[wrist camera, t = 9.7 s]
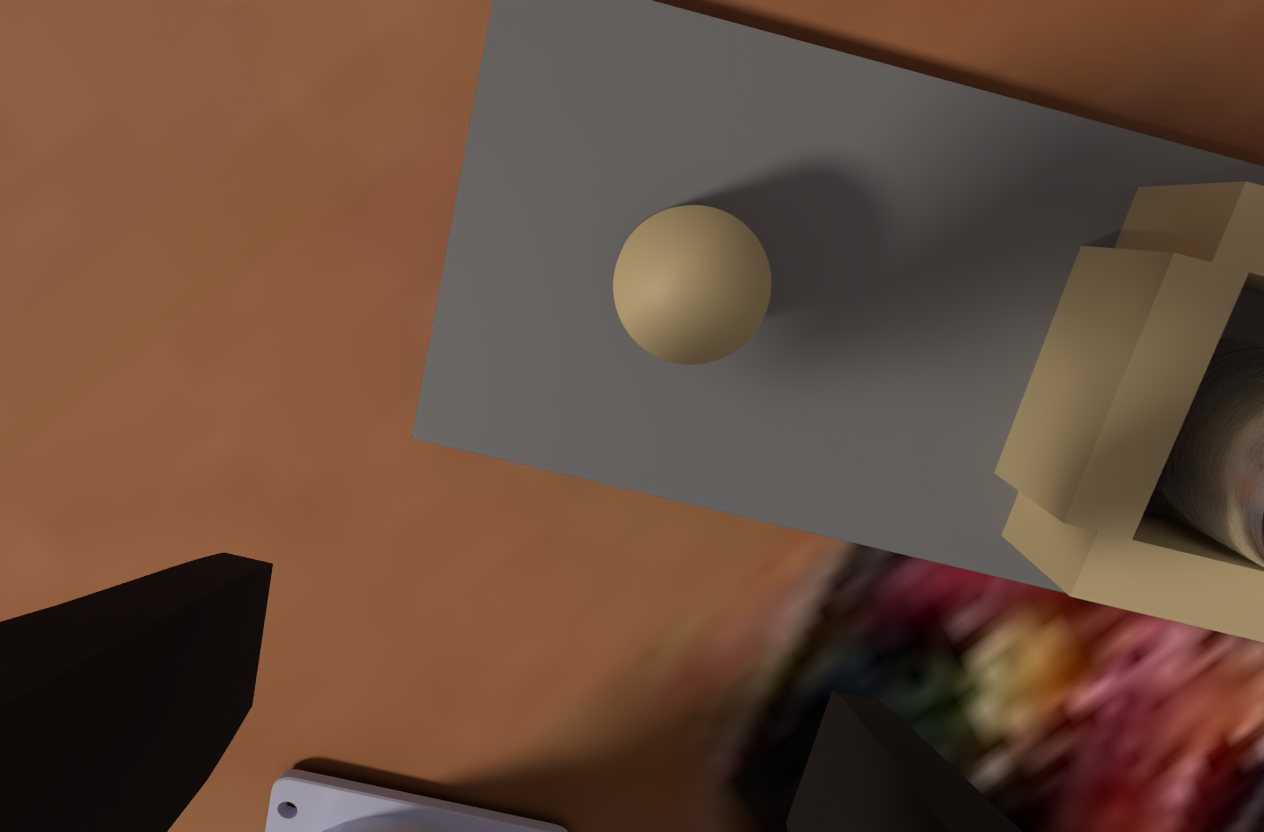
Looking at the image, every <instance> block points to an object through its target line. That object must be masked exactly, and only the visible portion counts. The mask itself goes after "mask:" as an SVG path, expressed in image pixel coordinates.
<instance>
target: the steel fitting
mask: <svg viewBox="0 0 1264 832" xmlns="http://www.w3.org/2000/svg"><path fill="white" fill-rule="evenodd" d="M1149 503H1150V504H1152V505H1154V506H1156V507H1157V508H1159V509H1161V510H1163V511H1165V512H1166V513H1168V514H1170V515H1172V516H1174V517H1175V518H1177V519H1179V520H1181V521H1182V522H1184V523H1186V524H1188V525H1190V526H1191V527H1193V528H1195V529H1197V530H1198V531H1200V532H1202V533H1204V534H1206V535H1207V536H1209V537H1211V538H1213V539H1214V540H1216V541H1218V542H1220V543H1222V544H1223V545H1225V546H1227V547H1229V548H1230V549H1232V550H1234V551H1236V552H1238V553H1239V554H1241V555H1243V556H1245V557H1247V558H1248V559H1250V560H1252V561H1254V562H1255V563H1257V564H1259V565H1261V566H1263V567H1264V345H1260V344H1255V343H1251V342H1246V341H1241V340H1236V339H1230V338H1220V340H1219V342H1218V344H1217V347H1216V349H1215V351H1214V353H1213V356H1212V358H1211V360H1210V363H1209V365H1208V367H1207V369H1206V372H1205V374H1204V376H1203V379H1202V381H1201V383H1200V385H1199V388H1198V390H1197V392H1196V395H1195V397H1194V399H1193V401H1192V404H1191V406H1190V408H1189V411H1188V413H1187V415H1186V417H1185V420H1184V422H1183V424H1182V427H1181V429H1180V431H1179V433H1178V436H1177V438H1176V440H1175V443H1174V445H1173V447H1172V449H1171V452H1170V454H1169V456H1168V459H1167V461H1166V463H1165V465H1164V468H1163V470H1162V472H1161V475H1160V477H1159V479H1158V481H1157V484H1156V486H1155V488H1154V491H1153V493H1152V495H1151V497H1150V500H1149Z"/></svg>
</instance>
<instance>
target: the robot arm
mask: <svg viewBox="0 0 1264 832" xmlns="http://www.w3.org/2000/svg"><path fill="white" fill-rule="evenodd" d="M272 567H273V564H272V563H268V562H264V561H259V560H255V559H250V558H246V557H241V556H237V555H233V554H228V553H220V554H215V555H211V556H207V557H203V558H200V559H196V560H193V561H190V562H187V563H183V564H180V565H177V566H174V567H171V568H168V569H165V570H162V571H159V572H156V573H153V574H150V575H147V576H144V577H141V578H138V579H135V580H132V581H129V582H126V583H123V584H120V585H117V586H114V587H111V588H108V589H105V590H102V591H99V592H96V593H93V594H90V595H87V596H84V597H81V598H78V599H75V600H71V601H68V602H65V603H62V604H59V605H56V606H53V607H49V608H46V609H43V610H39V611H36V612H32V613H29V614H26V615H22V616H19V617H15V618H12V619H9V620H5V621H2V622H0V832H167V831H168V830H169V828H170V827H171V826H172V824H173V823H174V822H175V821H176V819H177V818H178V817H179V816H180V814H181V813H182V812H183V810H184V809H185V808H186V807H187V805H188V804H189V803H190V801H191V800H192V799H193V798H194V796H195V795H196V794H197V792H198V791H199V790H200V789H201V787H202V786H203V785H204V783H205V782H206V781H207V779H208V778H209V776H210V775H211V773H212V771H213V770H214V768H215V767H216V765H217V764H218V762H219V760H220V759H221V757H222V756H223V754H224V752H225V751H226V749H227V748H228V746H229V744H230V743H231V741H232V739H233V737H234V736H235V734H236V732H237V731H238V729H239V727H240V726H241V724H242V722H243V721H244V719H245V717H246V715H247V714H248V712H249V710H250V709H251V707H252V704H253V697H254V690H255V683H256V676H257V670H258V663H259V656H260V649H261V642H262V635H263V628H264V622H265V615H266V608H267V601H268V594H269V587H270V580H271V574H272ZM285 802H290V803H293V804H294V805H295V806H296V807H295V808H292V807H290V806H288V805H287V804H286V803H285ZM786 823H787V832H1023V831H1021V830H1020V829H1019V828H1018V827H1017V826H1016V825H1015V824H1014V823H1013V822H1012V821H1010V820H1009V819H1008V818H1007V817H1006V816H1005V815H1004V814H1003V813H1002V812H1001V811H1000V810H998V809H997V808H996V807H995V806H994V805H993V804H992V803H991V802H990V801H989V800H988V799H987V798H986V797H984V796H983V795H982V794H981V793H980V792H979V791H978V790H977V789H976V788H975V787H974V786H973V785H972V784H971V783H970V782H968V781H967V780H966V779H965V778H964V777H963V776H962V775H961V774H960V773H959V772H958V771H957V770H956V769H955V768H954V767H953V766H952V765H950V764H949V763H948V762H947V761H946V760H945V759H944V758H943V757H942V756H941V755H940V754H939V753H938V752H937V751H936V750H935V749H934V748H933V747H931V746H930V745H929V744H928V743H927V742H926V741H925V740H924V739H923V738H922V737H921V736H920V735H919V734H917V733H916V732H915V731H914V730H913V729H912V728H911V727H910V726H909V725H908V724H907V723H905V722H904V721H903V720H902V719H901V718H900V717H899V716H897V715H896V714H895V713H894V712H893V711H891V710H890V709H889V708H888V707H886V706H885V705H884V704H882V703H881V702H880V701H878V700H874V699H870V698H865V697H861V696H857V695H852V694H848V693H843V692H839V691H834V690H833V691H832V693H831V696H830V699H829V702H828V705H827V708H826V710H825V713H824V716H823V719H822V722H821V725H820V727H819V730H818V733H817V736H816V739H815V742H814V744H813V747H812V750H811V753H810V756H809V758H808V761H807V764H806V767H805V770H804V773H803V775H802V778H801V781H800V784H799V787H798V790H797V792H796V795H795V798H794V801H793V804H792V807H791V809H790V812H789V815H788V818H787V821H786ZM265 832H568V831H567V830H566V829H565V828H564V827H562V826H559V825H557V824H552V823H547V822H543V821H538V820H533V819H529V818H524V817H519V816H514V815H510V814H505V813H500V812H496V811H491V810H486V809H482V808H477V807H472V806H467V805H463V804H458V803H453V802H449V801H444V800H439V799H434V798H430V797H425V796H420V795H416V794H411V793H406V792H401V791H397V790H392V789H387V788H383V787H378V786H373V785H369V784H364V783H359V782H354V781H350V780H345V779H340V778H336V777H331V776H326V775H321V774H317V773H312V772H307V771H303V770H297V769H290V770H287V771H284V772H283V773H282V774H281V775H279V777H278V778H277V780H276V782H275V783H274V785H273V788H272V791H271V798H270V804H269V810H268V817H267V823H266V830H265Z"/></svg>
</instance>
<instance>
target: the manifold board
mask: <svg viewBox="0 0 1264 832" xmlns="http://www.w3.org/2000/svg"><path fill="white" fill-rule="evenodd" d="M1220 338H1230V339H1236V340H1241V341H1246V342H1251V343H1255V344H1260V345H1264V166H1260V165H1257V164H1253V163H1249V162H1246V161H1242V160H1238V159H1235V158H1231V157H1227V156H1224V155H1220V154H1216V153H1212V152H1209V151H1205V150H1201V149H1198V148H1194V147H1190V146H1187V145H1183V144H1179V143H1176V142H1172V141H1168V140H1165V139H1161V138H1157V137H1154V136H1150V135H1146V134H1142V133H1139V132H1135V131H1131V130H1128V129H1124V128H1120V127H1117V126H1113V125H1109V124H1106V123H1102V122H1098V121H1095V120H1091V119H1087V118H1083V117H1080V116H1076V115H1072V114H1069V113H1065V112H1061V111H1058V110H1054V109H1050V108H1047V107H1043V106H1039V105H1036V104H1032V103H1028V102H1025V101H1021V100H1017V99H1013V98H1010V97H1006V96H1002V95H999V94H995V93H991V92H988V91H984V90H980V89H977V88H973V87H969V86H966V85H962V84H958V83H954V82H951V81H947V80H943V79H940V78H936V77H932V76H929V75H925V74H921V73H918V72H914V71H910V70H907V69H903V68H899V67H896V66H892V65H888V64H884V63H881V62H877V61H873V60H870V59H866V58H862V57H859V56H855V55H851V54H848V53H844V52H840V51H837V50H833V49H829V48H825V47H822V46H818V45H814V44H811V43H807V42H803V41H800V40H796V39H792V38H789V37H785V36H781V35H778V34H774V33H770V32H767V31H763V30H759V29H755V28H752V27H748V26H744V25H741V24H737V23H733V22H730V21H726V20H722V19H719V18H715V17H711V16H708V15H704V14H700V13H697V12H693V11H689V10H685V9H682V8H678V7H674V6H671V5H667V4H663V3H660V2H656V1H652V0H493V2H492V7H491V13H490V18H489V24H488V29H487V34H486V40H485V45H484V51H483V56H482V61H481V67H480V72H479V78H478V83H477V88H476V94H475V99H474V104H473V110H472V115H471V121H470V126H469V131H468V137H467V142H466V148H465V153H464V158H463V164H462V169H461V175H460V180H459V185H458V191H457V196H456V202H455V207H454V212H453V218H452V223H451V228H450V234H449V239H448V245H447V250H446V255H445V261H444V266H443V272H442V277H441V282H440V288H439V293H438V299H437V304H436V309H435V315H434V320H433V325H432V331H431V336H430V342H429V347H428V352H427V358H426V363H425V369H424V374H423V379H422V385H421V390H420V396H419V401H418V406H417V412H416V417H415V423H414V428H413V433H412V438H414V439H418V440H422V441H427V442H431V443H435V444H439V445H444V446H448V447H452V448H456V449H460V450H465V451H469V452H473V453H477V454H482V455H486V456H490V457H494V458H498V459H503V460H507V461H511V462H515V463H520V464H524V465H528V466H532V467H536V468H541V469H545V470H549V471H553V472H558V473H562V474H566V475H570V476H574V477H579V478H583V479H587V480H591V481H596V482H600V483H604V484H608V485H612V486H617V487H621V488H625V489H629V490H634V491H638V492H642V493H646V494H650V495H655V496H659V497H663V498H667V499H672V500H676V501H680V502H684V503H688V504H693V505H697V506H701V507H705V508H710V509H714V510H718V511H722V512H726V513H731V514H735V515H739V516H743V517H748V518H752V519H756V520H760V521H764V522H769V523H773V524H777V525H781V526H786V527H790V528H794V529H798V530H802V531H807V532H811V533H815V534H819V535H824V536H828V537H832V538H836V539H840V540H845V541H849V542H853V543H857V544H862V545H866V546H870V547H874V548H878V549H883V550H887V551H891V552H895V553H900V554H904V555H908V556H912V557H916V558H921V559H925V560H929V561H933V562H938V563H942V564H946V565H950V566H954V567H959V568H963V569H967V570H971V571H976V572H980V573H984V574H988V575H992V576H997V577H1001V578H1005V579H1009V580H1014V581H1018V582H1022V583H1026V584H1030V585H1035V586H1039V587H1043V588H1047V589H1052V590H1056V591H1060V592H1064V593H1067V594H1068V595H1069V596H1071V597H1075V598H1079V599H1083V600H1087V601H1092V602H1096V603H1100V604H1104V605H1109V606H1113V607H1117V608H1121V609H1125V610H1130V611H1134V612H1138V613H1142V614H1147V615H1151V616H1155V617H1159V618H1163V619H1168V620H1172V621H1176V622H1180V623H1185V624H1189V625H1193V626H1197V627H1202V628H1206V629H1210V630H1214V631H1218V632H1223V633H1227V634H1231V635H1235V636H1240V637H1244V638H1248V639H1252V640H1256V641H1261V642H1264V567H1263V566H1261V565H1259V564H1257V563H1255V562H1254V561H1252V560H1250V559H1248V558H1247V557H1245V556H1243V555H1241V554H1239V553H1238V552H1236V551H1234V550H1232V549H1230V548H1229V547H1227V546H1225V545H1223V544H1222V543H1220V542H1218V541H1216V540H1214V539H1213V538H1211V537H1209V536H1207V535H1206V534H1204V533H1202V532H1200V531H1198V530H1197V529H1195V528H1193V527H1191V526H1190V525H1188V524H1186V523H1184V522H1182V521H1181V520H1179V519H1177V518H1175V517H1174V516H1172V515H1170V514H1168V513H1166V512H1165V511H1163V510H1161V509H1159V508H1157V507H1156V506H1154V505H1152V504H1150V503H1149V500H1150V497H1151V495H1152V493H1153V491H1154V488H1155V486H1156V484H1157V481H1158V479H1159V477H1160V475H1161V472H1162V470H1163V468H1164V465H1165V463H1166V461H1167V459H1168V456H1169V454H1170V452H1171V449H1172V447H1173V445H1174V443H1175V440H1176V438H1177V436H1178V433H1179V431H1180V429H1181V427H1182V424H1183V422H1184V420H1185V417H1186V415H1187V413H1188V411H1189V408H1190V406H1191V404H1192V401H1193V399H1194V397H1195V395H1196V392H1197V390H1198V388H1199V385H1200V383H1201V381H1202V379H1203V376H1204V374H1205V372H1206V369H1207V367H1208V365H1209V363H1210V360H1211V358H1212V356H1213V353H1214V351H1215V349H1216V347H1217V344H1218V342H1219V340H1220Z"/></svg>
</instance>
